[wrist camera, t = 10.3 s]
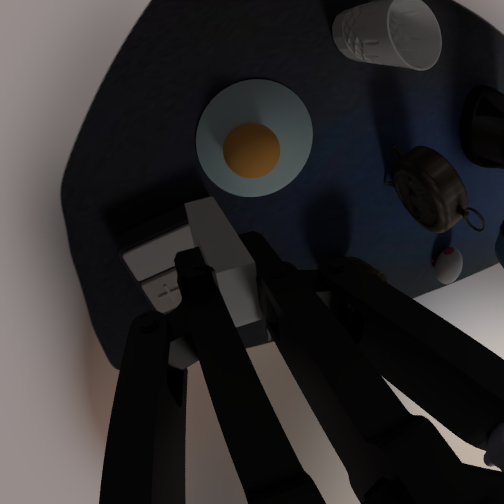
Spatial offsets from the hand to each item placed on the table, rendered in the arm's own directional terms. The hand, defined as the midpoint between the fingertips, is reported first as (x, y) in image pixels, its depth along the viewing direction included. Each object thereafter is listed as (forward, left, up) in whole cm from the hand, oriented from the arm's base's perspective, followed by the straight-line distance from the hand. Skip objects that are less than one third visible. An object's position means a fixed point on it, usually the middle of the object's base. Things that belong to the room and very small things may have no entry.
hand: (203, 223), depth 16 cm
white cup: (-24, -8, -17) cm, 30 cm away
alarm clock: (-27, +12, -17) cm, 34 cm away
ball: (-7, +2, -14) cm, 15 cm away
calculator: (+4, +13, -17) cm, 22 cm away
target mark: (-9, +2, -16) cm, 19 cm away
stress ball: (-40, +34, -17) cm, 55 cm away
